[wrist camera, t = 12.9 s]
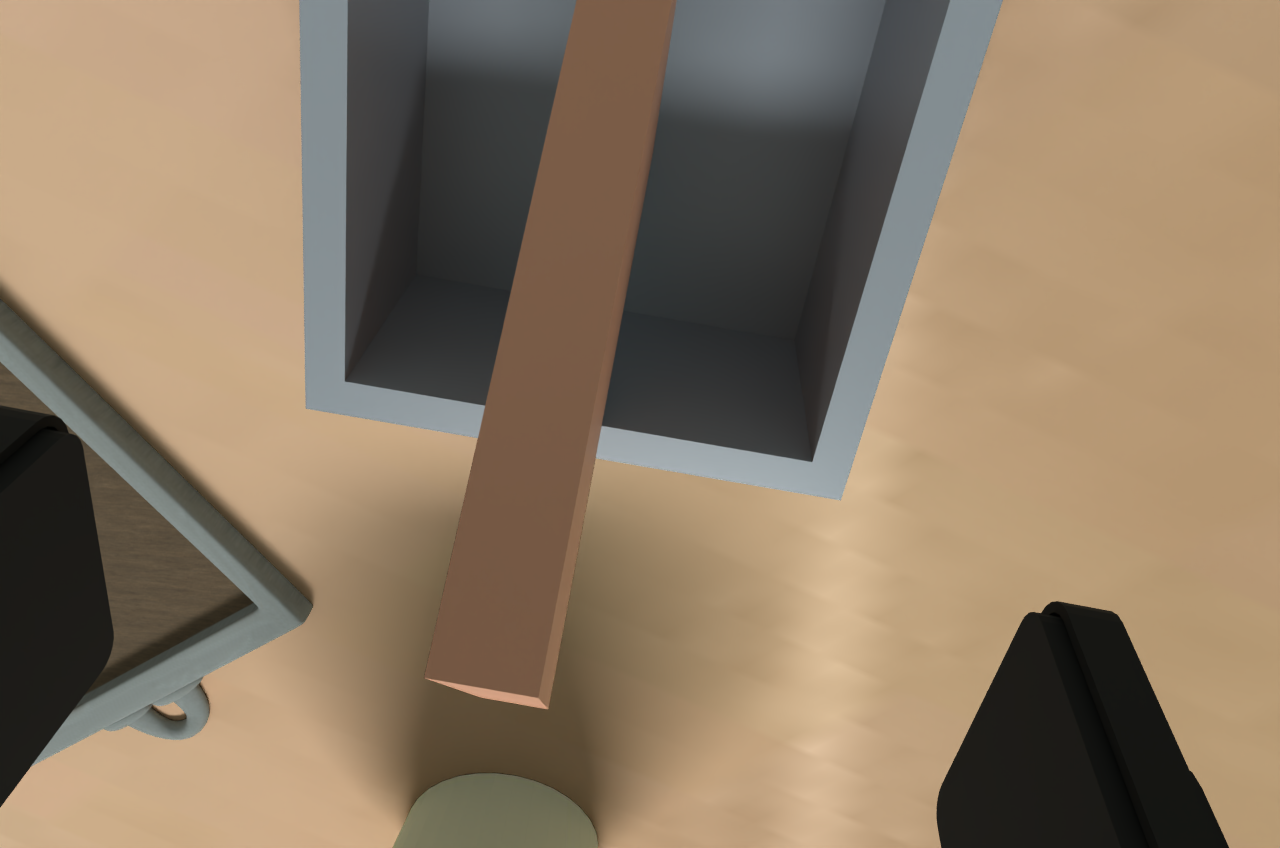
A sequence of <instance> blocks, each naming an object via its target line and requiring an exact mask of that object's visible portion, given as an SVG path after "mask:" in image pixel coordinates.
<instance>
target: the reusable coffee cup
mask: <svg viewBox="0 0 1280 848" xmlns="http://www.w3.org/2000/svg"><path fill="white" fill-rule="evenodd" d="M393 848H598V841H597V835H596V831H595V829H594V827H593V825H592V823H591V821H590V819H589V818H588V817H587V815H586V814H585V813H584V812H583V810H582V809H581V808H580V807H579V806H578V805H576V804H575V803H574V802H573V801H572V800H570V799H569V798H568V797H566V796H565V795H563V794H561V793H560V792H558V791H556V790H555V789H553V788H551V787H549V786H546V785H544V784H541V783H539V782H536V781H534V780H530V779H526V778H522V777H518V776H513V775H506V774H498V773H476V774H470V775H463V776H458V777H455V778H451V779H448V780H445V781H442V782H440V783H439V784H437V785H435V786H433V787H431V788H429V789H428V790H427V791H426V792H425V793H423V794H422V795H421V796H420V797H419V798H418V799H417V801H416V802H415V804H414V805H413V807H412V808H411V810H410V812H409V814H408V816H407V818H406V820H405V823H404V825H403V827H402V829H401V831H400V833H399V835H398V837H397V839H396V842H395V844H394V846H393Z"/></svg>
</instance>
